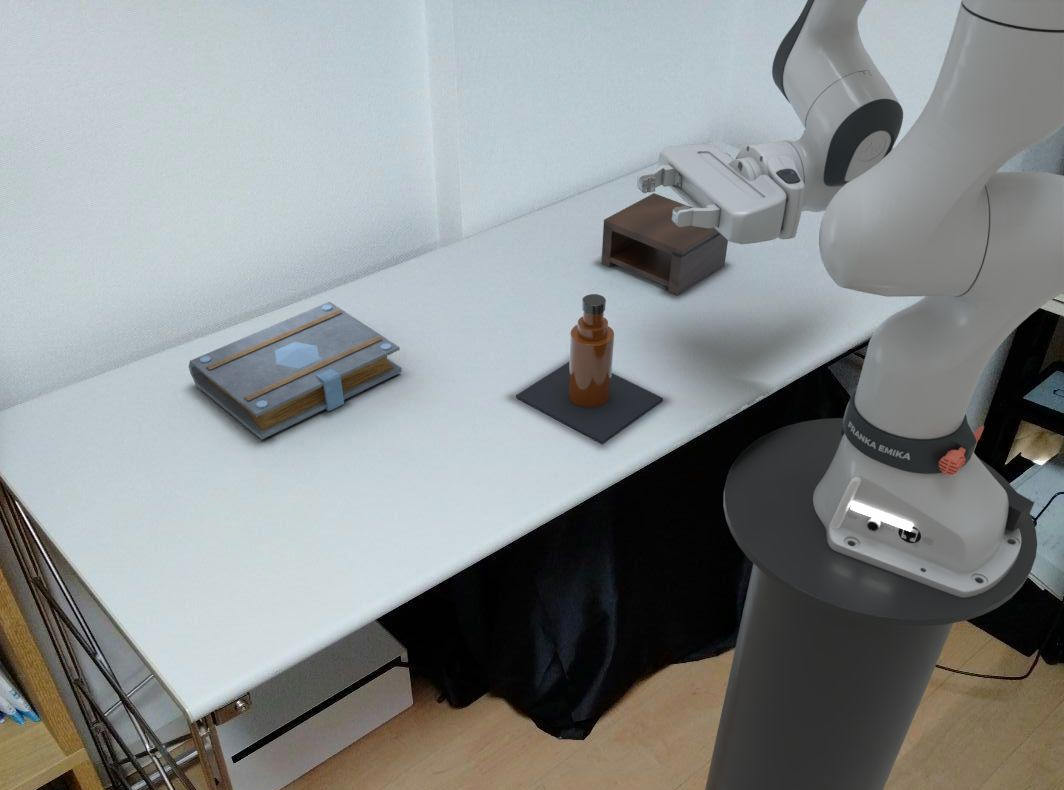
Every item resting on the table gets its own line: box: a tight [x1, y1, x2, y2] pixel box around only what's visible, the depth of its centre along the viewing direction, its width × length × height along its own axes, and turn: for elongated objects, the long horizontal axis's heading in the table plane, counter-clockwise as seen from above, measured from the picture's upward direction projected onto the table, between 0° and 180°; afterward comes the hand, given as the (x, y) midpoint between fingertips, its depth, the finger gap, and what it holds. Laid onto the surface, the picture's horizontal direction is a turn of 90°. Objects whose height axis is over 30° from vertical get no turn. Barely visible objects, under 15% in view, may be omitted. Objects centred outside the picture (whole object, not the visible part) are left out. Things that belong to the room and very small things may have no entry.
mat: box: [515, 360, 664, 445], centre depth 130 cm, size 14×12×1 cm
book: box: [188, 301, 403, 440], centre depth 131 cm, size 21×16×5 cm
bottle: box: [568, 293, 615, 408], centre depth 125 cm, size 5×5×14 cm
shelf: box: [600, 192, 729, 296], centre depth 153 cm, size 14×12×7 cm
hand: (656, 200), depth 120 cm, fingers open, 8 cm apart
